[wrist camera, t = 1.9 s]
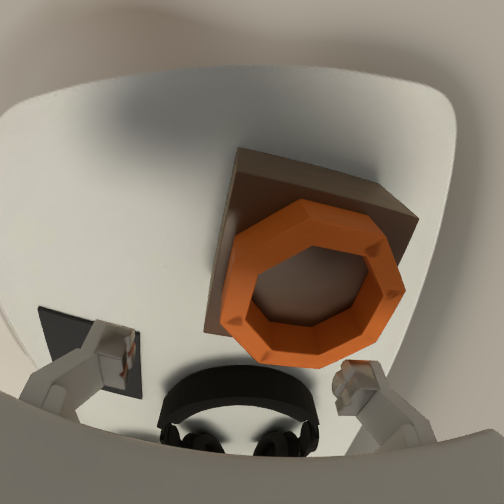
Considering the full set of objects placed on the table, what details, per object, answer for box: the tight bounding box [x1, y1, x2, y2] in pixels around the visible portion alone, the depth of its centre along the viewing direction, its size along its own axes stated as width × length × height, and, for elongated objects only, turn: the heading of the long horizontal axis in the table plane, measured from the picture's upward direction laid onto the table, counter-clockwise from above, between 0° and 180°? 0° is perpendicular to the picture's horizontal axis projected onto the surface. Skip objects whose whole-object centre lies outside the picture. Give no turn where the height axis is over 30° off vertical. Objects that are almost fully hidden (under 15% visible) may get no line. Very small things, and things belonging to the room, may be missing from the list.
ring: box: [219, 199, 406, 369], centre depth 16 cm, size 9×9×2 cm
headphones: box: [157, 365, 320, 457], centre depth 31 cm, size 18×8×20 cm
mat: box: [38, 307, 142, 399], centre depth 28 cm, size 11×11×1 cm
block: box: [203, 148, 419, 337], centre depth 19 cm, size 10×10×6 cm
